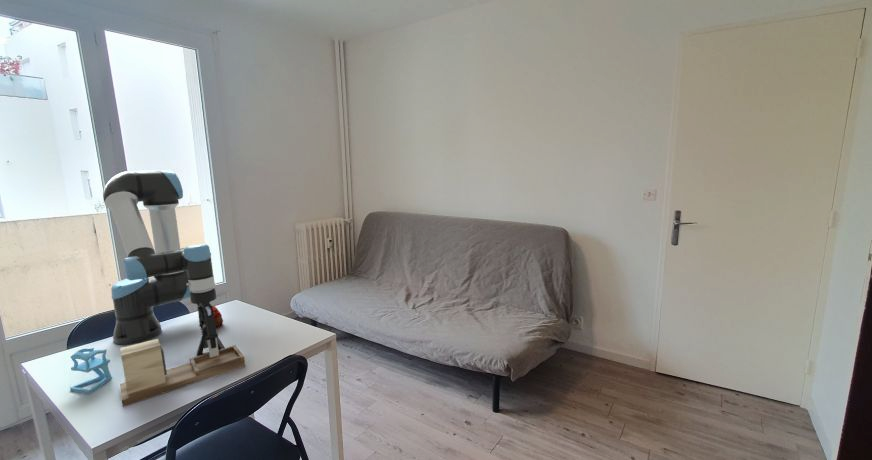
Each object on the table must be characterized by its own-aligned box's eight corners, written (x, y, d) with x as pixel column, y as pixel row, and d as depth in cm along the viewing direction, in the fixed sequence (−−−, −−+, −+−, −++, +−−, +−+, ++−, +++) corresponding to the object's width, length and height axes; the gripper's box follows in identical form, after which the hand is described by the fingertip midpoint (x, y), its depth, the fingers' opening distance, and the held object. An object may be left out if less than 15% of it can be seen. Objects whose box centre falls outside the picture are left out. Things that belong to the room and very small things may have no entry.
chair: (118, 378, 121) (112, 343, 119) (89, 393, 113) (82, 356, 111) (99, 376, 123) (93, 341, 121) (69, 390, 115) (62, 353, 113)
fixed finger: (126, 385, 114) (120, 348, 112) (165, 373, 120) (160, 337, 118) (127, 394, 109) (121, 355, 107) (168, 381, 116) (162, 344, 114)
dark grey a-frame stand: (195, 362, 131) (190, 329, 128) (196, 355, 136) (192, 323, 134) (225, 356, 135) (221, 324, 133) (225, 349, 140) (221, 318, 138)
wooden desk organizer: (120, 389, 115) (119, 379, 115) (236, 354, 136) (235, 345, 135) (122, 406, 107) (120, 395, 106) (245, 366, 128) (244, 356, 127)
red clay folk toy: (216, 331, 155) (211, 296, 152) (199, 331, 155) (194, 296, 152) (226, 323, 162) (222, 290, 160) (210, 324, 162) (205, 290, 160)
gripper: (184, 286, 136) (193, 345, 140) (195, 299, 120) (205, 366, 123) (208, 281, 141) (216, 339, 144) (222, 293, 125) (230, 358, 128)
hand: (211, 351), depth 134 cm, fingers open, 9 cm apart
